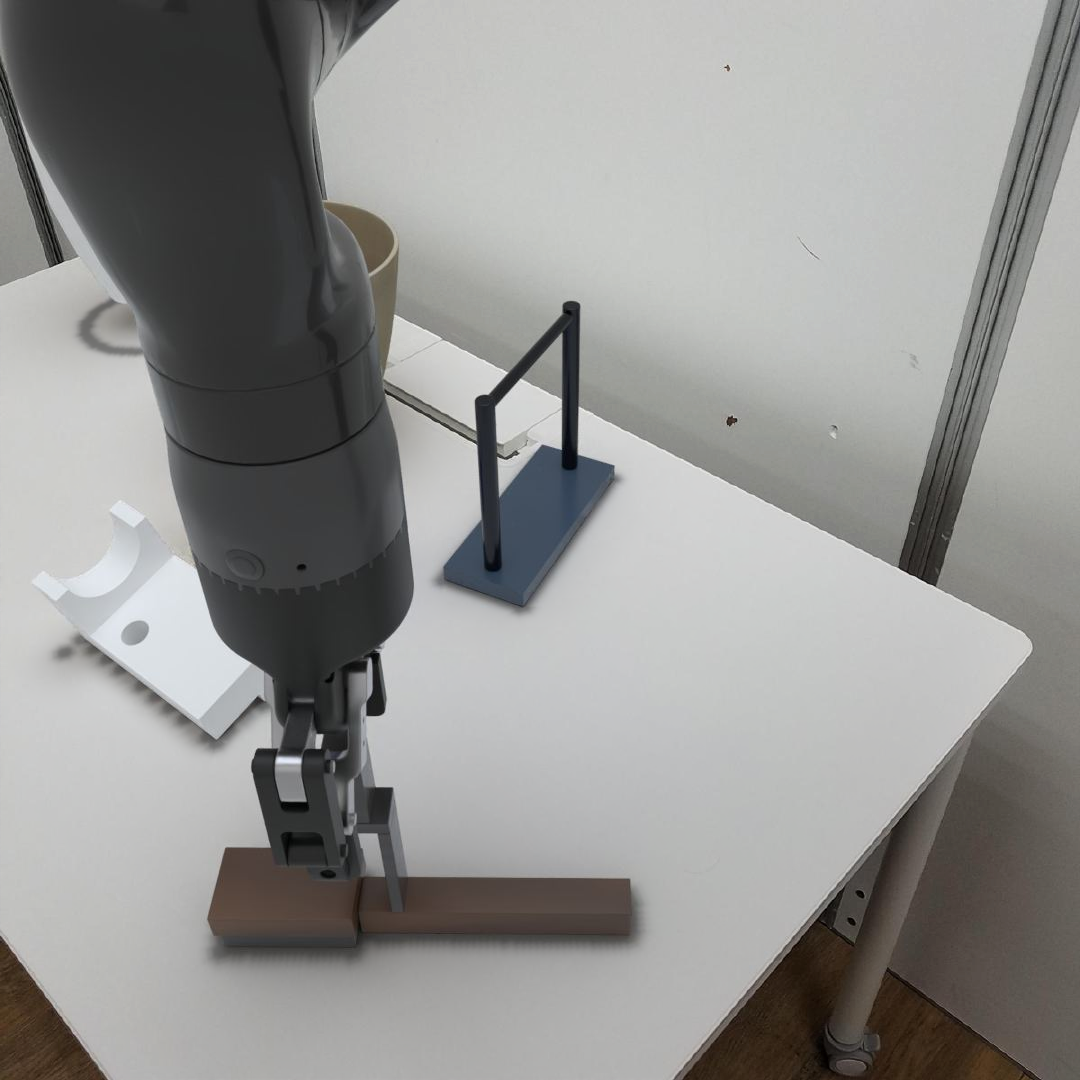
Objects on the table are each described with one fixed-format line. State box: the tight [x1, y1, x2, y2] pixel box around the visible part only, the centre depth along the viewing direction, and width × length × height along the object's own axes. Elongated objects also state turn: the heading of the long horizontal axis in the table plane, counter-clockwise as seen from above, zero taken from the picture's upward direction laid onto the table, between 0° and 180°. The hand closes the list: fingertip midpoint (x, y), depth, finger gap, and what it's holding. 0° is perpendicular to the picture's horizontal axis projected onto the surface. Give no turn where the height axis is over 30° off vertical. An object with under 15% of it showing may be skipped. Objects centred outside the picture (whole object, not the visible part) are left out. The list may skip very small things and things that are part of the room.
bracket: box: [30, 499, 266, 741], centre depth 67 cm, size 13×7×8 cm, turn 51°
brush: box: [206, 729, 633, 948], centre depth 52 cm, size 4×20×15 cm, turn 89°
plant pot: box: [323, 199, 400, 378], centre depth 82 cm, size 15×15×16 cm
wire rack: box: [442, 300, 616, 607], centre depth 74 cm, size 6×15×15 cm, turn 154°
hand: (351, 785), depth 50 cm, fingers open, 8 cm apart
